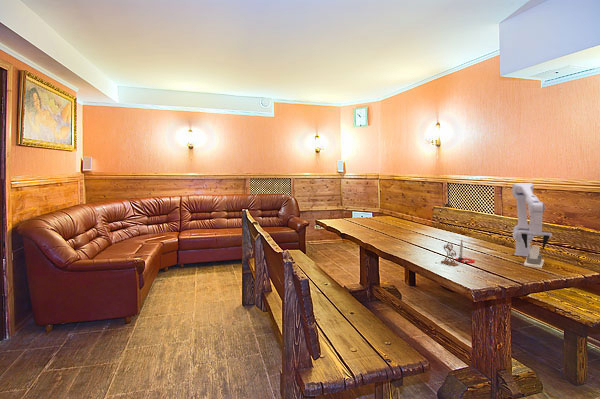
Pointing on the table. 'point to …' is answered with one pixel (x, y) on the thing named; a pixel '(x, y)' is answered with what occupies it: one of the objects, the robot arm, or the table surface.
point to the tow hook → (461, 256)
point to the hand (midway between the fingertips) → (534, 248)
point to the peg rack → (534, 262)
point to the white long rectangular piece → (534, 252)
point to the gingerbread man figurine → (449, 257)
